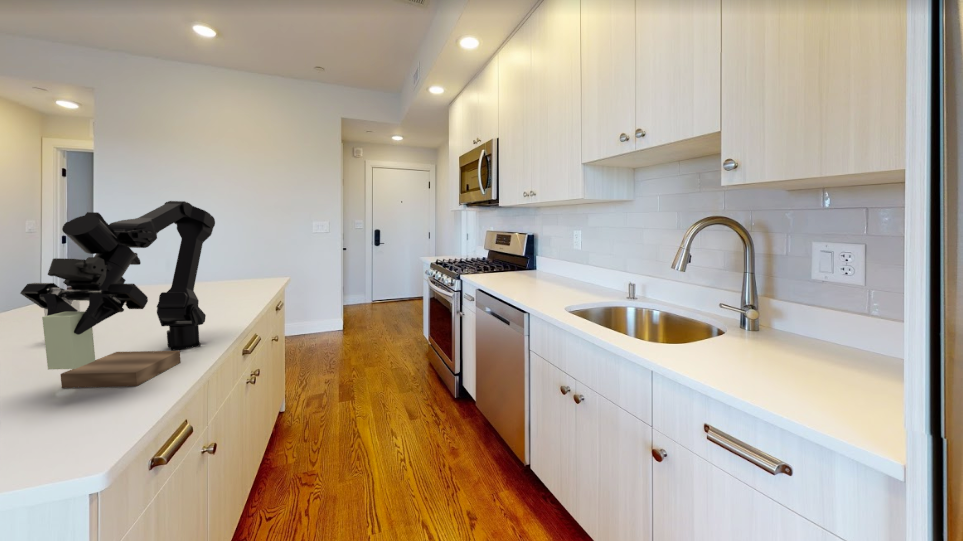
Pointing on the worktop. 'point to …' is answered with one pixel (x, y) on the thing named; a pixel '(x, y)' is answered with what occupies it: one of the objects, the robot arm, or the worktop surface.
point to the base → (121, 369)
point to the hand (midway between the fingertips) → (62, 333)
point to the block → (67, 341)
